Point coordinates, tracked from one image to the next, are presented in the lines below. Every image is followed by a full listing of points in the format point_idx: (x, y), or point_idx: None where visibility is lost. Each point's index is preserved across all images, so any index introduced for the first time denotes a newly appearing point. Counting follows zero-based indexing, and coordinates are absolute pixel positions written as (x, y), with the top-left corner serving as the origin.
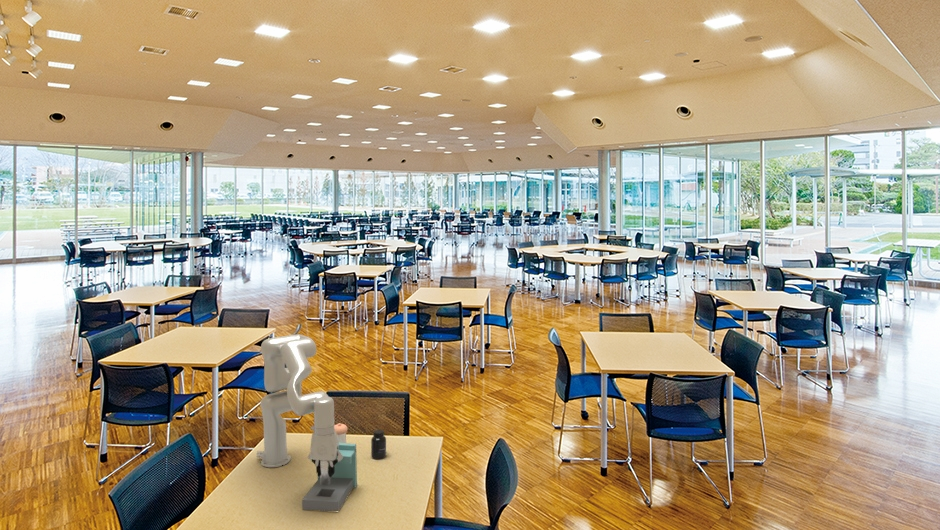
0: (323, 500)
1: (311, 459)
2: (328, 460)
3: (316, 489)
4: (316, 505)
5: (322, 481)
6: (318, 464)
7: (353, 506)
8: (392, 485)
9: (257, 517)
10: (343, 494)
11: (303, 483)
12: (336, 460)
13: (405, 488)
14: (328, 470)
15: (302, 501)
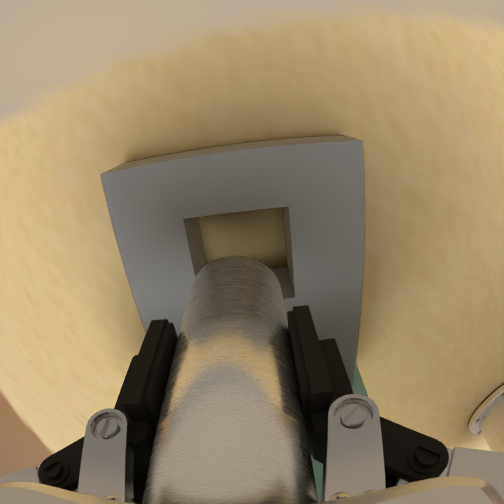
0: (206, 164)
1: (453, 460)
2: (78, 497)
3: (323, 281)
4: (255, 144)
5: (243, 274)
6: (327, 429)
7: (85, 233)
8: (61, 389)
9: (498, 62)
10: (128, 272)
11: (416, 349)
12: (43, 481)
13: (20, 374)
14: (170, 375)
15: (357, 139)
